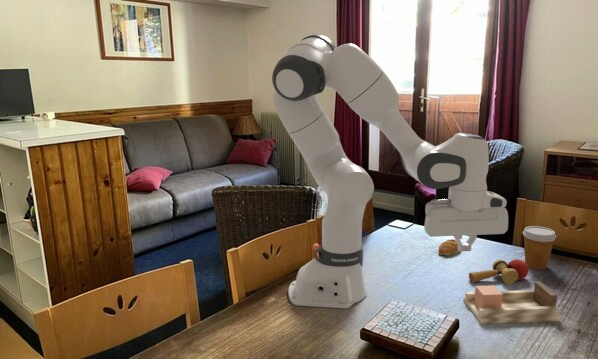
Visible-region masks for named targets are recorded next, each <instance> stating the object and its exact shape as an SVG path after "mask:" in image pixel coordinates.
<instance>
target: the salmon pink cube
mask: <svg viewBox="0 0 598 359" xmlns="http://www.w3.org/2000/svg"><path fill="white" fill-rule="evenodd" d="M474 287H475V289H474V292H475V298H474V304H475V305H476V306H477V307H478V308H479V309H481V308H501V307H502V297H503V294H502V293H501V292H500V291H501V290H499V289H498V288H497V287H496V286H495V285H492V284H491V285H475V286H474Z"/></svg>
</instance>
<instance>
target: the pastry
mask: <svg viewBox="0 0 598 359" xmlns="http://www.w3.org/2000/svg"><path fill="white" fill-rule="evenodd" d="M457 247H458V243H457V242H456V240H455V239H453V238H451V239H447V240H445V241H443V242H442V243H441V244H440V245H439V246H438V254H439V255H440V256H445V257H446V256H447V257H450V256H455V255H457V254H459V253H460V252H461V251H458V248H457Z"/></svg>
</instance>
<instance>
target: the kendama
mask: <svg viewBox="0 0 598 359" xmlns="http://www.w3.org/2000/svg"><path fill="white" fill-rule="evenodd" d="M529 271H530V270H529V267H528V266H527V264H526V263H525V260H522V259H520V258H518V259H517V258H516V259H512V260H510V261H509V262H508V263H507V262H506V261H505V260H503V259H497V260H495V261H494V262H493V264H492V269H490V270H489V269H488V270H482V271H474V272H469V273H468V279H469V280H470V282H471V283H472V284H473V283H476V282H479V281H483V280H487V279H490V278H494V277H496V276H499V275H501V277H500V278H501V280H502V281H503V283H505V284H508V285H509V284H513V283H516V282H517V280H523V279H525V278H527V276H528V275H529Z"/></svg>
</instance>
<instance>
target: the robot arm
mask: <svg viewBox="0 0 598 359" xmlns="http://www.w3.org/2000/svg"><path fill="white" fill-rule="evenodd" d="M271 78H272V79H271V80H272V85H273V86H272V87H273V88H274V90H275V91H274V93H273V96H272V102H273V105H274V108H275V110H276V113H277V115H278V117H279V119H280V121H281V123H282V125H283V127H284V128H285V130H286V132H287V134H288V136H289V137H290V138H291V139H292V141H293V143H294V145H295V146H296V148H297V149H298V151H299V152H300V154H301V156H302V158H303V160H304V161H305V163H306V165H307V168H308V169H309V171H310V173H311V175H312V177H313V178H314V181H315V182H316V185H317V186H318V187H319V189H320V190H321V191H322V192H323V193H325V194H326V197H327V206H326V210H325V214H324V217H323V218H322V220H321V243H322V244H321V245H319V243H316V242H315V243H313V245H312V250H313V252H314V258H312V260H310V261H308V262H307V263H306V264H304V265H303V266H301V267H300V268H299V269H298V272H297V274H296V278H295V279H296V280H294V281H292V282H291V283H290V285H289V286H288V291H287V292H288V294H287V295H288V299H289V301H290V302H291V303H292V304H293V305H295V306H300V307H314V308H315V307H316V308H333V309H349V308H351V307H352V306H353V305H354V304H356V303H358V302H360V301H362V300H363V299H365V298H366V296H367V290H366V286H365V281H364V275H363V264H364V248H363V245H362V237H363V236H362V233H363V232H362V228H363V219H364V213H365V210H366V206H367V203H368V202H369V201H370V200H371V199H372V197H373V194H374V191H375V185H374V182H373V179H372V178H371V176H370V175H369V173H368V172H367V171H366V170H365V169H364V168H363V167H362V166H360V165H357V164H355V163H354V162H352V160H350V159H349V157H347V155H346V152H345V151H344V149H343V146H342V143H341V141H340V135H339V133H338V131H337V129H336V127H335V126H334V124H333V122H332V121H331V119H330V117H329V116H328V114H327V113H326V111H325V109H324V107H323V106H322V105H321V103H320V100H318V97H317V95H319V94H321V93H323V92H324V91H325V88H331V89H333V90H334V91H335V92H337V94H338V95H339V96H340V97H341V98H342V99H343V100H344V102H345V103H346V104H347V105H348V106H349V108H350V109H351V110H352V111H354V113H356V114H357V115H358V116H359V117H360V118H362V120H364V121H365V122H367V123H368V124H371V126H374V127H376V128H377V129H378V130H380V131H381V132H382V133H383V135H384V136H385V138H387V139H388V141H389V142H390V143H391V145H393V147H394V148H395V149H396V150H397V152H398V153H399V156H400V160H401V163H402V167H403V169H404V171H405V172H406V173H407V174H408V176H410V177H411V178H414V179H415V180H416V181H417V182H419V183H420V184H421V185H423V186H424V187H425V188H428V189H431V190H440V189H446V188H448V197H447V198H446V199H445V198H444V199H443V198H442V199H431V201H429V202H427V203H426V204H425V208H424V210H425V211H424V213H425V219H424V227H423V228H424V232H425V234H427V235H428V237H431V238H433V237H434V238H436V237H453V238H454V240H456V242H457V243H458V247H457V248H458V251H460V252H471V251H472V246H473V245H474V243H475V242H476V240H477V238H478V236H479V235H480V236H481V235H504V234H505V233H506V232H508V229H509V213H508V210H507V208H506V206H507V203H508V202H507V199H506V198H504V196H501V195H500V194H498V193H495V192H493V191H488V185H487V175H488V172H489V164H490V163H489V162H490V158H489V157H490V155H489V154H490V153H489V144H488V141H487V140H486V139H485V138H484V137H482V136H480V135H476V134H473V133H466V132H458V133H455V134H454V135H453V136H452V137H450V138H449V139H447V140H446V141H444V142H442V143H440V144H438V145H434V144H433V143H431V142H429V141H426V140H424V139H422V138H421V137H419V136H418V135H417V133H416V132H415V131H414V130H413V128H412V127H411V126H410V125H409V123H408V122H407V121H406V119H405V118H404V117H403V115H402V113H401V112H400V110H399V100H400V96H399V93H398V91H397V89H396V87H395V85H394V84H393V82H392V80H391V79H390V78H389V76H388V75H387V74H386V73H385V71H383V69H382V68H381V67H380V66H379V65H378V63H377V62H376V61H375V60H374V59H373V58H372V57H371V56H369V54H367V53H366V52H365V51H364V50H363V49H362V48H360V47H359V46H358V45H356V44H354V43H350V42H349V43H343V44H341V45H339V46H337V47H336V45H335V44H334V42H333V40H331V39H330V38H329V37H328V36H325V35H323V34H311V35H307V36H305V37H304V38H302V39H301V40H300V41H299V42H297V43H296V44H294V45H293V46H292V47H290V49H288V51H287V53H285V55H284V56H283V57H282V58H280V59H279V60H278V61H277V63H276V64H275V67H274V69H273V71H272V76H271ZM463 236H468V239H467V240H466V241H465V242H462V241H461V240H462V239H463Z"/></svg>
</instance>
